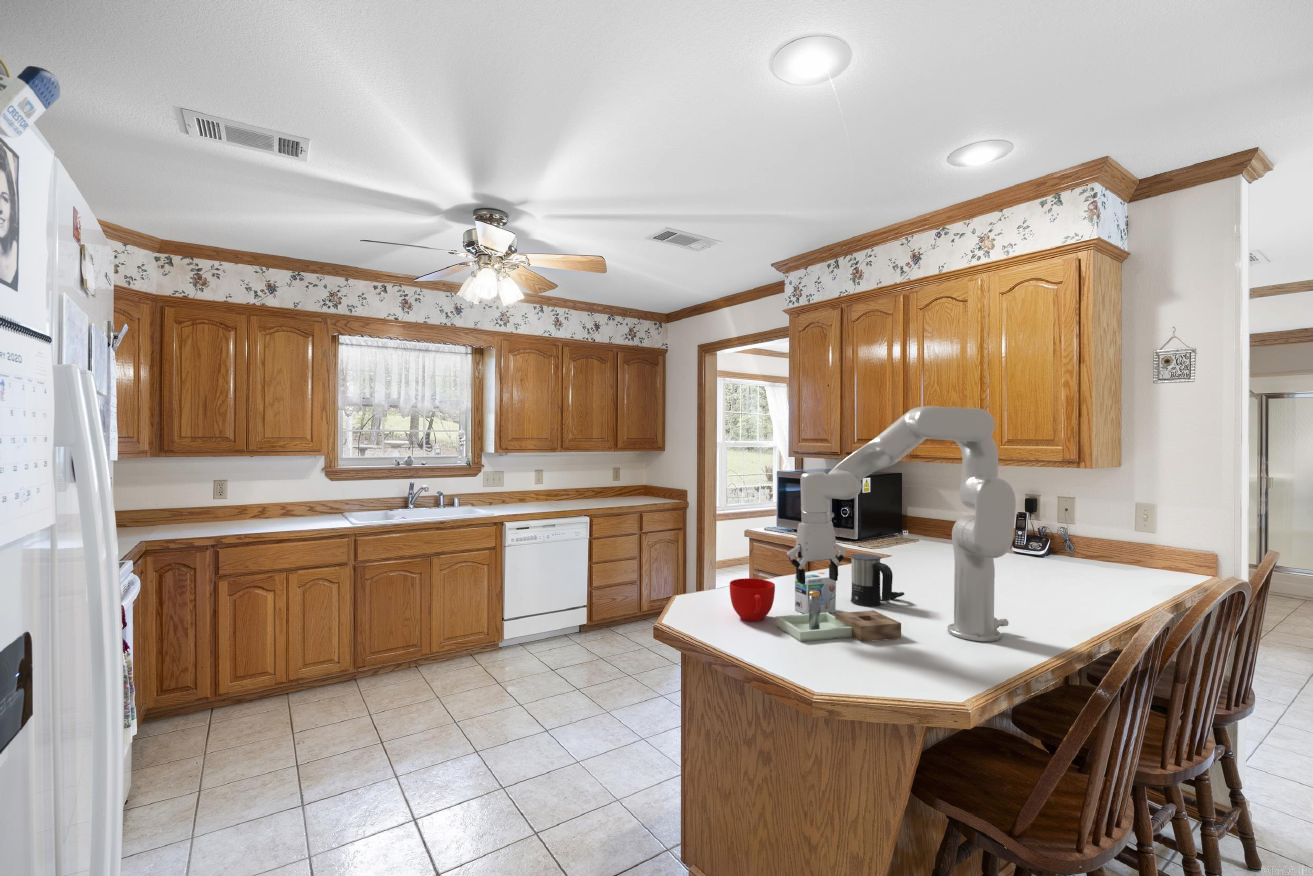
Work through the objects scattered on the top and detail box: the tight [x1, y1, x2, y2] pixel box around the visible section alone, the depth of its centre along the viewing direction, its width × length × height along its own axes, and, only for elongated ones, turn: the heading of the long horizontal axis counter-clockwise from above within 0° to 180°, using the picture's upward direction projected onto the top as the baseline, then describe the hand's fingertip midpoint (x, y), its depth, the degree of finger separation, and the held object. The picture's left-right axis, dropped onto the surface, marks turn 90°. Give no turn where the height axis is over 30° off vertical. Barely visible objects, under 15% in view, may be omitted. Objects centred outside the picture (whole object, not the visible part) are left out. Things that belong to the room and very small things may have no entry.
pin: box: [809, 590, 820, 630], centre depth 167 cm, size 3×3×10 cm
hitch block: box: [834, 609, 902, 642], centre depth 165 cm, size 12×12×4 cm
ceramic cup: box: [729, 577, 776, 622], centre depth 176 cm, size 13×17×10 cm
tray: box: [774, 612, 852, 643], centre depth 167 cm, size 16×14×2 cm
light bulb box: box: [794, 571, 837, 614], centre depth 186 cm, size 11×7×11 cm, turn 114°
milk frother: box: [850, 553, 905, 607], centre depth 196 cm, size 14×16×15 cm
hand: (817, 581), depth 167 cm, fingers open, 9 cm apart
